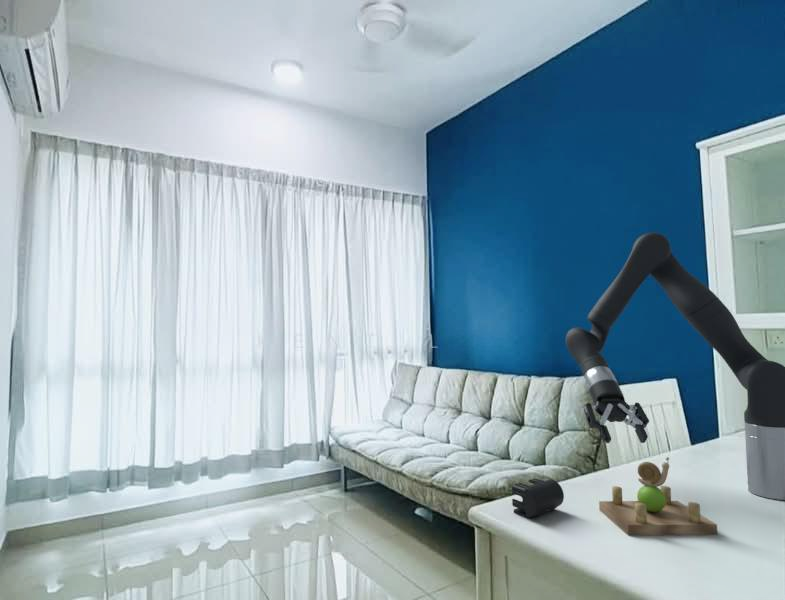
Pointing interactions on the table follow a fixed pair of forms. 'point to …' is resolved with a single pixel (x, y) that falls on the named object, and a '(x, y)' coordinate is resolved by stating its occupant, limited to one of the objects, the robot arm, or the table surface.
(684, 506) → the wooden peg board
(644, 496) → the snail figurine
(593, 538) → the table surface
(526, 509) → the end cap
